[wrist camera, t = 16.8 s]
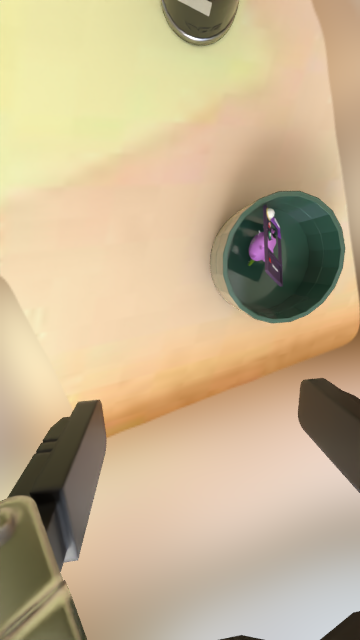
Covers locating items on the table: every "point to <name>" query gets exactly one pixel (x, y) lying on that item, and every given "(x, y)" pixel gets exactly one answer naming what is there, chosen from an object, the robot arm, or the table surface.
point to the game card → (268, 247)
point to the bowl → (297, 258)
